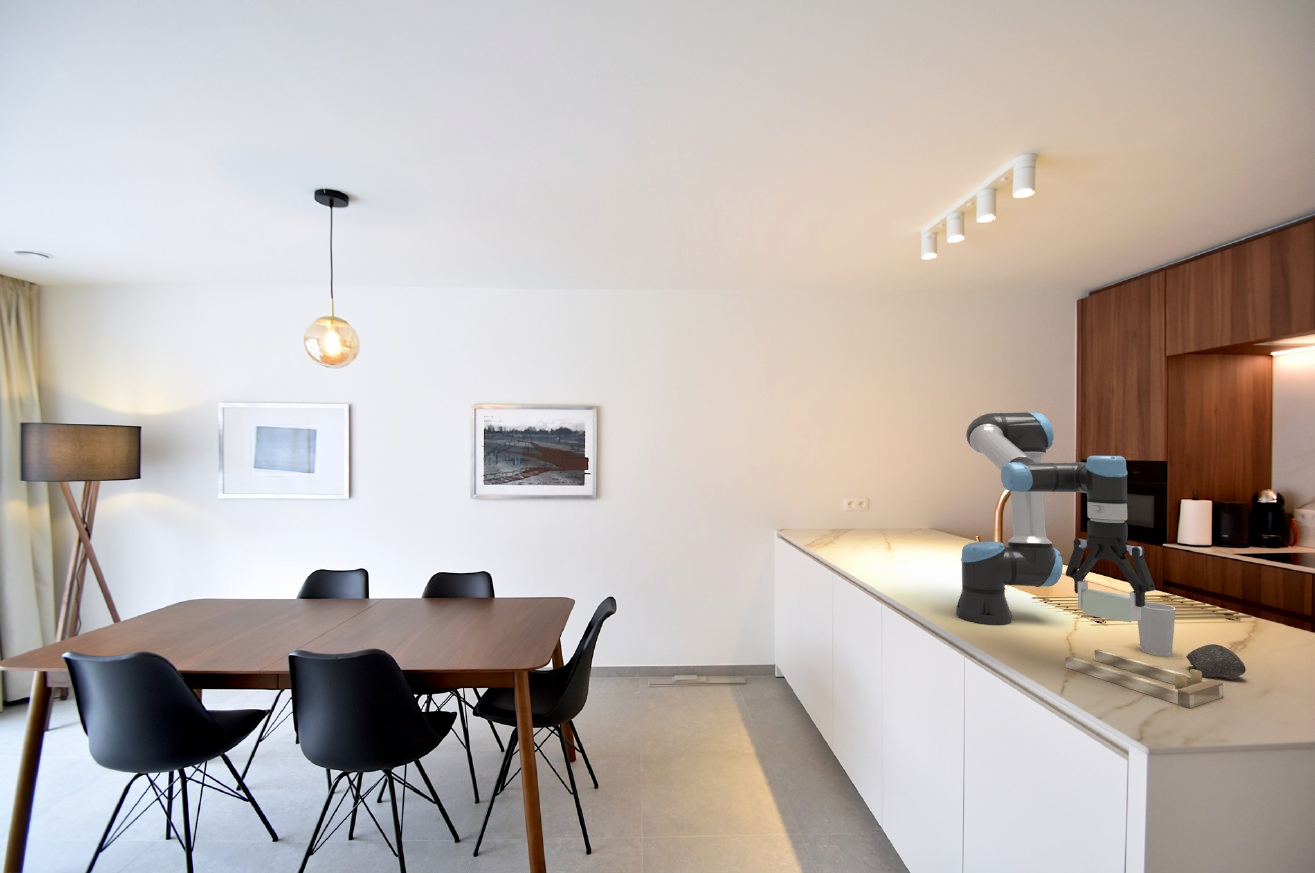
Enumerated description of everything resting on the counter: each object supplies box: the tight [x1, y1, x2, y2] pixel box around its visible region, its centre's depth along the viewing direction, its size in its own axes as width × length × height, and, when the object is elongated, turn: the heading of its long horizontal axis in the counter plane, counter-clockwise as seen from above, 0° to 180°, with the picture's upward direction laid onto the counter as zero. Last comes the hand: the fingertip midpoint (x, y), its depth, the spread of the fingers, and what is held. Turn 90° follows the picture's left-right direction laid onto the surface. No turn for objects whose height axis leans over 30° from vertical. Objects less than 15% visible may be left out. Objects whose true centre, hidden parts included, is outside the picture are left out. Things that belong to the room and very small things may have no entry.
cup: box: [1137, 601, 1177, 658], centre depth 150 cm, size 8×8×12 cm
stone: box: [1185, 643, 1246, 681], centre depth 135 cm, size 10×8×10 cm
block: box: [1081, 588, 1133, 623], centre depth 137 cm, size 9×6×5 cm, turn 42°
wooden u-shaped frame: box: [1065, 648, 1224, 709], centre depth 131 cm, size 24×13×5 cm, turn 24°
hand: (1108, 613), depth 137 cm, fingers closed on block, 10 cm apart
